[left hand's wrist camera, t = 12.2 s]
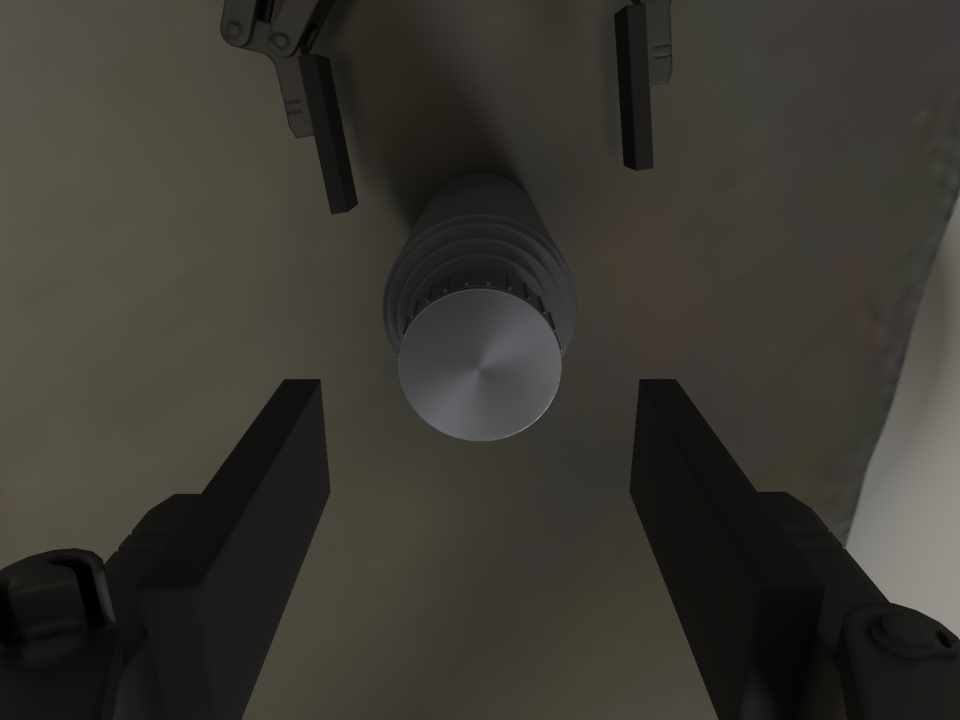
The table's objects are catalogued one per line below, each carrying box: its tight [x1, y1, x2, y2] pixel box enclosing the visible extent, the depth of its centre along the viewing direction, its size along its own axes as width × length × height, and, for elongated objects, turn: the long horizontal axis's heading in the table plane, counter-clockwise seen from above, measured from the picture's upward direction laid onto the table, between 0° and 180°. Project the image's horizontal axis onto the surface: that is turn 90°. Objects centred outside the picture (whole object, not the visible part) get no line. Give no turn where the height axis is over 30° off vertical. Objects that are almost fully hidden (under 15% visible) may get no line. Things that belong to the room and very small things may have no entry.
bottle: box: [383, 172, 577, 358], centre depth 28 cm, size 7×7×21 cm
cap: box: [398, 268, 562, 441], centre depth 19 cm, size 5×5×2 cm
